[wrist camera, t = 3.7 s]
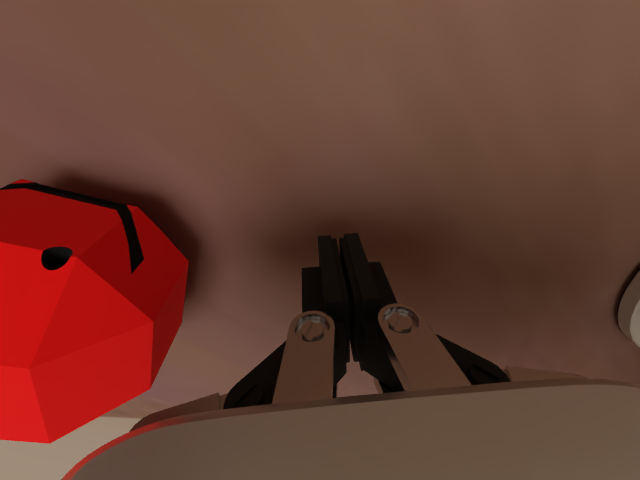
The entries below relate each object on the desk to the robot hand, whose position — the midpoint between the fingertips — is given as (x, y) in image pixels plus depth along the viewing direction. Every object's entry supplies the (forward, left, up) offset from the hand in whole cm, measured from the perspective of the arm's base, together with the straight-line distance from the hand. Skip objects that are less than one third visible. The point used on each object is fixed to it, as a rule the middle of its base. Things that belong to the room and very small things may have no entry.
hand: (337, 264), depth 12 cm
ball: (+11, 0, -3) cm, 11 cm away
